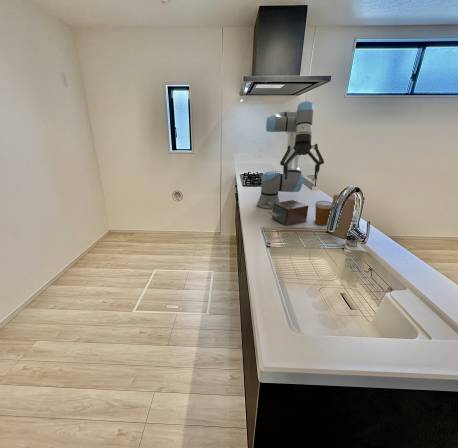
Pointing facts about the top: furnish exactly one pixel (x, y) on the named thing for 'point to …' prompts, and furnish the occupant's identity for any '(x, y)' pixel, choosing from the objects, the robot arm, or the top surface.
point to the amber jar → (322, 212)
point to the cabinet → (294, 211)
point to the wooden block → (344, 216)
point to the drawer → (279, 214)
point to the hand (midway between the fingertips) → (300, 179)
